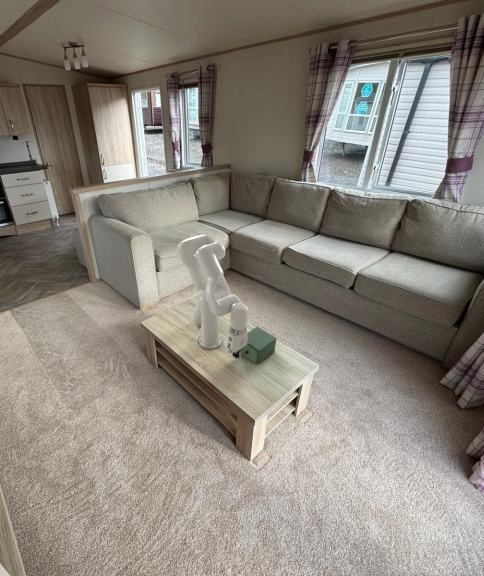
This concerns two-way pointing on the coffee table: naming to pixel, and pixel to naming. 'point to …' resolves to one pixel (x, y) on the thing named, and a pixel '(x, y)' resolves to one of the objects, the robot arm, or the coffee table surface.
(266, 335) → the cabinet
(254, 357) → the drawer
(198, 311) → the soap bottle
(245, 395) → the coffee table surface
